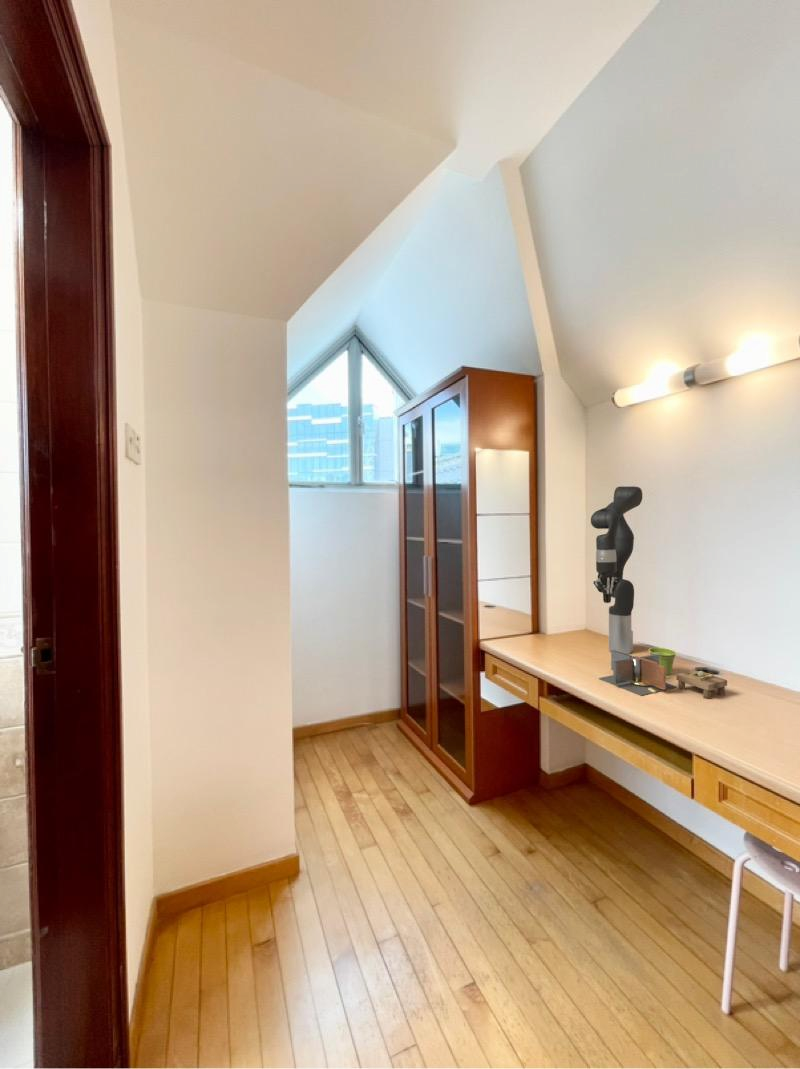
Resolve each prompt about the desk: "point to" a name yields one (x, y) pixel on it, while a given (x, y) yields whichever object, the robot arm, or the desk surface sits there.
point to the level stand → (702, 682)
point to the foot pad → (635, 688)
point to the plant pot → (664, 658)
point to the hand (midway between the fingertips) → (607, 602)
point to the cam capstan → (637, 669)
